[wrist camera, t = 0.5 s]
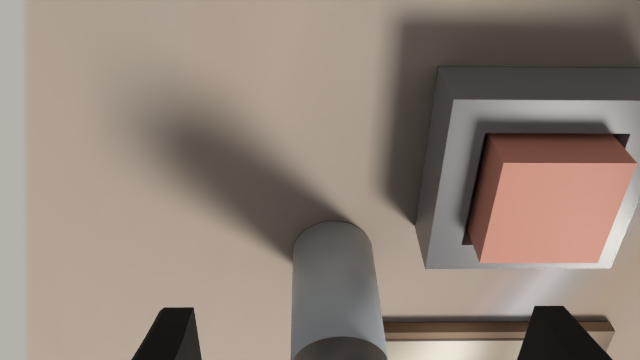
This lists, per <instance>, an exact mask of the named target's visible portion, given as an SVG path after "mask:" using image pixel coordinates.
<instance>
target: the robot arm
mask: <svg viewBox="0 0 640 360" xmlns="http://www.w3.org/2000/svg"><path fill="white" fill-rule="evenodd" d="M132 360H202V359H201V353H200V346H199V340H198V333H197V327H196V320H195V314H194V308H163V309H162V310H161V311H160V312H159V314H158V315H157V317H156V319H155V321H154V323H153V325H152V326H151V328H150V330H149V332H148V333H147V335H146V337H145V339H144V340H143V342H142V344H141V345H140V347H139V349H138V350H137V352H136V353H135V355H134V357H133V358H132ZM517 360H612V359H611V358H610V356H609V355H608V354H607V353H606V352H605V351H604V350H603V349H602V348H601V347H600V346H599V344H598V343H597V342H596V341H595V340H594V339H593V338H592V337H591V336H590V335H589V334H588V332H587V331H586V330H585V329H584V328H583V327H582V326H581V325H580V324H579V323H578V321H577V320H576V319H575V318H574V317H573V316H572V315H571V314H570V313H569V312H568V311H567V310H566V308H565V307H564V306H535V307H534V310H533V313H532V316H531V319H530V322H529V325H528V328H527V331H526V334H525V337H524V340H523V343H522V346H521V349H520V352H519V355H518V358H517Z"/></svg>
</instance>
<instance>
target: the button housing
mask: <svg viewBox="0 0 640 360" xmlns="http://www.w3.org/2000/svg"><path fill="white" fill-rule="evenodd" d="M488 133H526V134H613V136H614V137H615V138H616V139H617V140H618V141H619V142H620V144H621V145H622V146H623V147H624V148H625V149H626V151H627V152H628V153H629V154H630V155H631V156H632V158H633V159H634V160H635V161H636V162H637V166H636V168H635V171H634V173H633V176H632V178H631V181H630V183H629V186H628V188H627V191H626V193H625V196H624V198H623V201H622V203H621V206H620V208H619V211H618V213H617V216H616V218H615V221H614V223H613V226H612V228H611V231H610V233H609V236H608V238H607V241H606V243H605V246H604V249H603V251H602V254H601V256H600V259H599V261H598V263H479V260H478V258H477V255H476V252H475V249H474V247H473V244H472V241H471V238H470V235H469V233H468V226H469V221H470V217H471V212H472V207H473V203H474V198H475V193H476V189H477V184H478V179H479V175H480V170H481V165H482V161H483V156H484V151H485V146H486V142H487V137H488ZM639 199H640V68H570V67H443V66H438V72H437V79H436V86H435V93H434V100H433V107H432V113H431V120H430V127H429V134H428V141H427V148H426V155H425V161H424V168H423V175H422V182H421V189H420V196H419V203H418V209H417V216H416V223H415V229H416V233H417V237H418V241H419V245H420V250H421V254H422V258H423V262H424V266H425V269H538V268H611V266H612V264H613V261H614V259H615V256H616V254H617V252H618V249H619V247H620V244H621V242H622V240H623V237H624V235H625V233H626V230H627V228H628V225H629V223H630V221H631V218H632V216H633V213H634V211H635V209H636V206H637V204H638V201H639Z"/></svg>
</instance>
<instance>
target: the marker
mask: <svg viewBox="0 0 640 360" xmlns="http://www.w3.org/2000/svg"><path fill="white" fill-rule="evenodd" d="M291 360H388V355H387V348H386V341H385V334H384V327H383V320H382V313H381V306H380V300H379V293H378V286H377V279H376V272H375V265H374V258H373V251H372V245H371V242H370V239H369V238H368V236H367V235H366V234H365V233H364V232H363V231H362V230H361V229H360V228H358V227H356V226H354V225H352V224H349V223H346V222H340V221H328V222H322V223H318V224H316V225H313V226H311V227H309V228H308V229H306V230H305V231H304V232H302V233H301V234H300V235H299V237H298V238H297V240H296V242H295V244H294V248H293V278H292V324H291Z"/></svg>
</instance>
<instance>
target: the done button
mask: <svg viewBox="0 0 640 360" xmlns="http://www.w3.org/2000/svg"><path fill="white" fill-rule="evenodd" d="M636 166H637V162H636V161H635V160H634V159H633V158H632V156H631V155H630V154H629V153H628V152H627V151H626V149H625V148H624V147H623V146H622V145H621V144H620V142H619V141H618V140H617V139H616V138H615V137H614V136H613V134H526V133H488V137H487V142H486V146H485V151H484V156H483V161H482V165H481V170H480V175H479V179H478V184H477V189H476V193H475V198H474V203H473V207H472V212H471V217H470V221H469V226H468V233H469V235H470V238H471V241H472V244H473V247H474V249H475V252H476V255H477V258H478V260H479V263H598V261H599V259H600V256H601V254H602V251H603V249H604V246H605V243H606V241H607V238H608V236H609V233H610V231H611V228H612V226H613V223H614V221H615V218H616V216H617V213H618V211H619V208H620V206H621V203H622V201H623V198H624V196H625V193H626V191H627V188H628V186H629V183H630V181H631V178H632V176H633V173H634V171H635V168H636Z"/></svg>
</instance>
